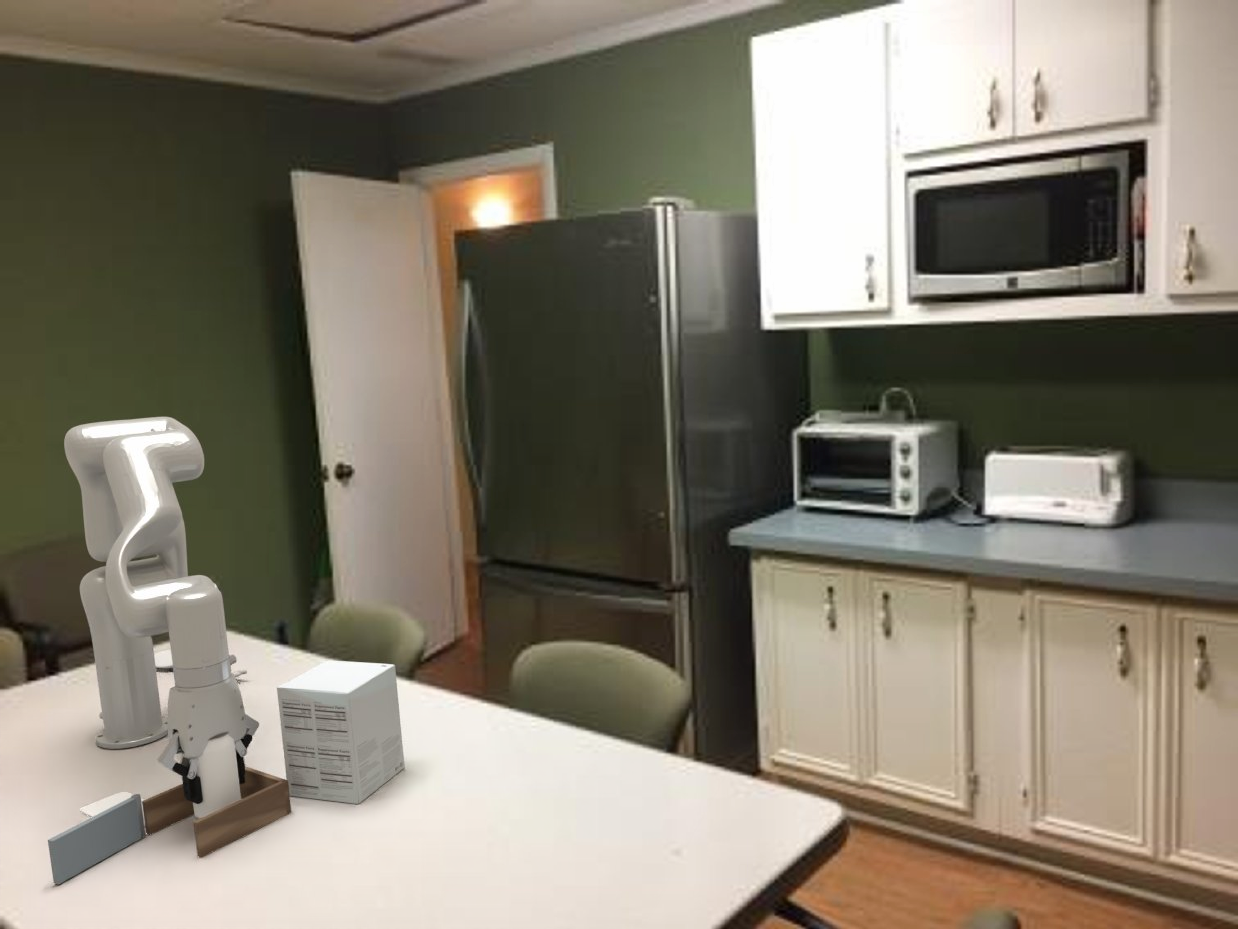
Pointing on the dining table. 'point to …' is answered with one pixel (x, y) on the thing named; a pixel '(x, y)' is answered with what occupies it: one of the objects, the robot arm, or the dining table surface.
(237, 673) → the spoon
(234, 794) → the can
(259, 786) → the bin
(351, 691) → the supplement box
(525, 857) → the dining table surface
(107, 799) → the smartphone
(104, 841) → the bin gate
